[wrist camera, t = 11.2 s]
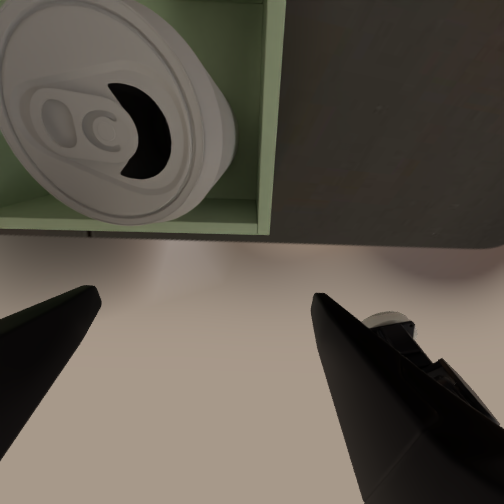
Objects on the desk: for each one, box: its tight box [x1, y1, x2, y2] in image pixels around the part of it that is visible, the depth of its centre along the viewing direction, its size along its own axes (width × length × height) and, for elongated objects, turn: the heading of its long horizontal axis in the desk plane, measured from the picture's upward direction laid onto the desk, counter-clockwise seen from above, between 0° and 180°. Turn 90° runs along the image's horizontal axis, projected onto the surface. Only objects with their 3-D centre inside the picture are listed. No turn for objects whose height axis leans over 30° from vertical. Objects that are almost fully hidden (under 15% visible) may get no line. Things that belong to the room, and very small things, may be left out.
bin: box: [0, 0, 286, 235], centre depth 13 cm, size 20×14×7 cm
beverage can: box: [0, 0, 239, 226], centre depth 11 cm, size 6×6×12 cm
